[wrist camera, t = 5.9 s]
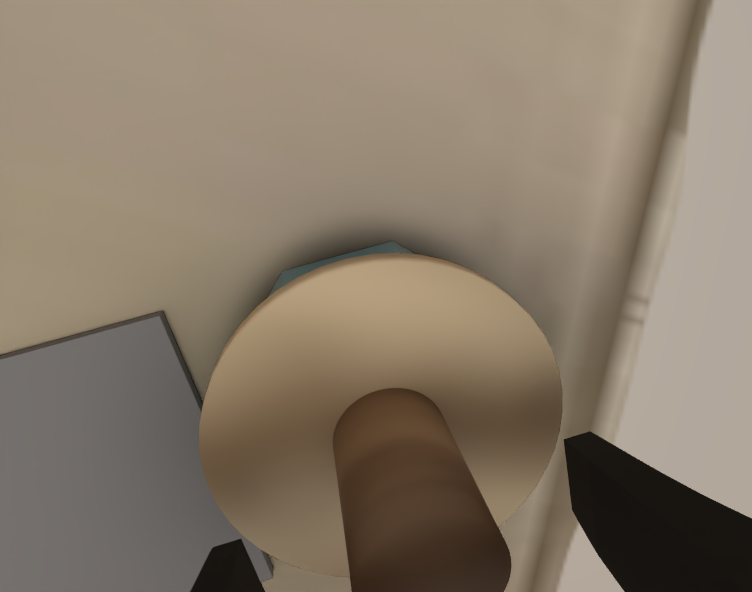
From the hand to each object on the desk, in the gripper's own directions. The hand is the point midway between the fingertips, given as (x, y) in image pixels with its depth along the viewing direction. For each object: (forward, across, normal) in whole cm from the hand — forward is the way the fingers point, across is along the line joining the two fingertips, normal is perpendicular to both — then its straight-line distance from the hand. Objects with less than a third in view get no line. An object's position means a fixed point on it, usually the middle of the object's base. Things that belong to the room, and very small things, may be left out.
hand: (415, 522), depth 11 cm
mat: (+7, +11, +2) cm, 13 cm away
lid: (+3, 0, 0) cm, 4 cm away
